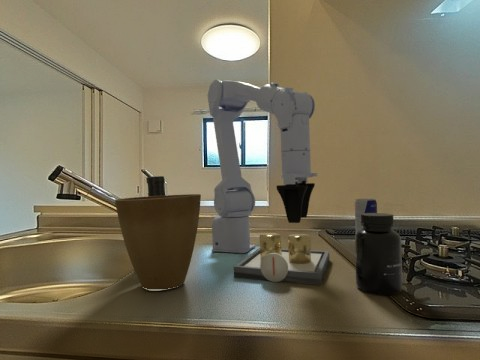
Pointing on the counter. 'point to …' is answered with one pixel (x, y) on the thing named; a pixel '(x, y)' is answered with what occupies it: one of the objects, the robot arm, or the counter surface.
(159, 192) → the sauce bottle
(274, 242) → the cylinder
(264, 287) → the counter surface
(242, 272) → the scale
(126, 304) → the counter surface
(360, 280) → the supplement bottle
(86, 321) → the counter surface
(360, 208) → the energy drink
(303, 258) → the cylinder
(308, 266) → the pan
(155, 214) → the plant pot
